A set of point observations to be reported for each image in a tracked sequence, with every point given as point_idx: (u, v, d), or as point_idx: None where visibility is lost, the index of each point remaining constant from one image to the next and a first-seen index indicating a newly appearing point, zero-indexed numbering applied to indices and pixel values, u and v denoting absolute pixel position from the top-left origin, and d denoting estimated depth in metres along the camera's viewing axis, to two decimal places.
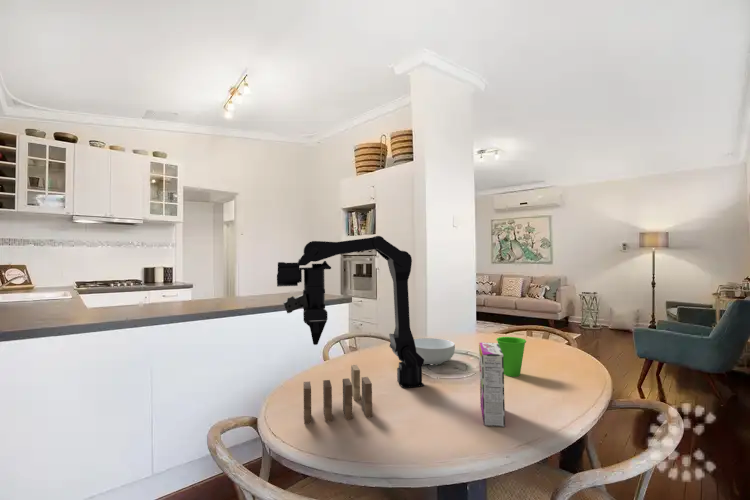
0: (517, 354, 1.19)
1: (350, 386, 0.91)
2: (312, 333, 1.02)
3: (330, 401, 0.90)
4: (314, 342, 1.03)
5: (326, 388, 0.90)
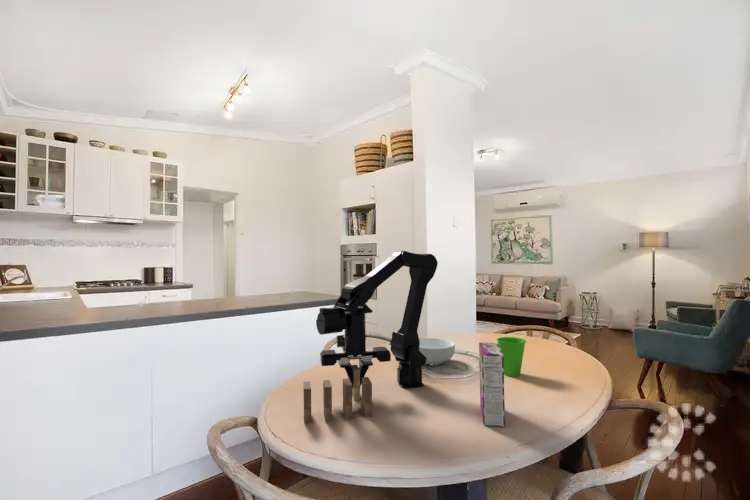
0: (517, 354, 1.19)
1: (350, 386, 0.91)
2: None
3: (330, 401, 0.90)
4: None
5: (326, 388, 0.90)
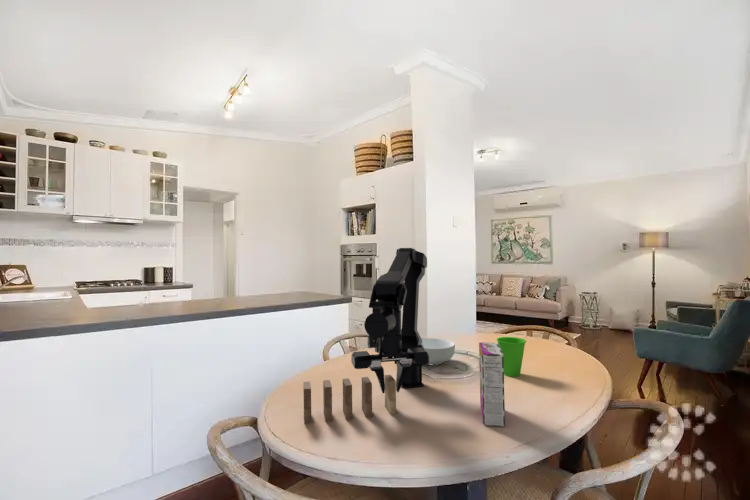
0: (517, 354, 1.19)
1: (350, 386, 0.91)
2: None
3: (330, 401, 0.90)
4: (381, 389, 0.95)
5: (326, 388, 0.90)
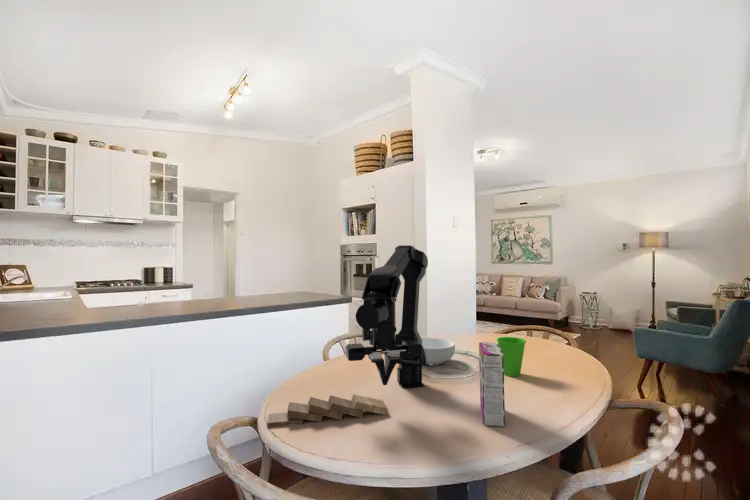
0: (517, 354, 1.19)
1: (311, 406, 0.89)
2: (378, 370, 0.96)
3: (302, 413, 0.89)
4: (382, 381, 0.95)
5: (288, 415, 0.88)
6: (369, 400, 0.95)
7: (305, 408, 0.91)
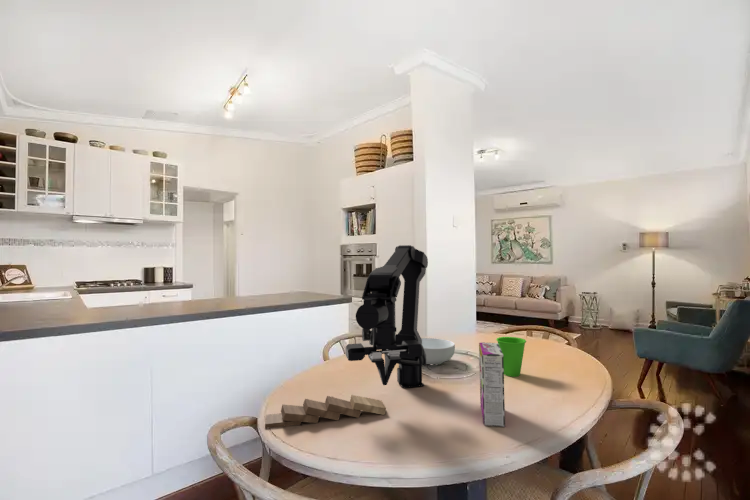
0: (517, 354, 1.19)
1: (308, 408, 0.88)
2: (378, 370, 0.96)
3: (299, 415, 0.87)
4: (382, 381, 0.95)
5: (284, 418, 0.86)
6: (368, 400, 0.95)
7: (300, 410, 0.90)
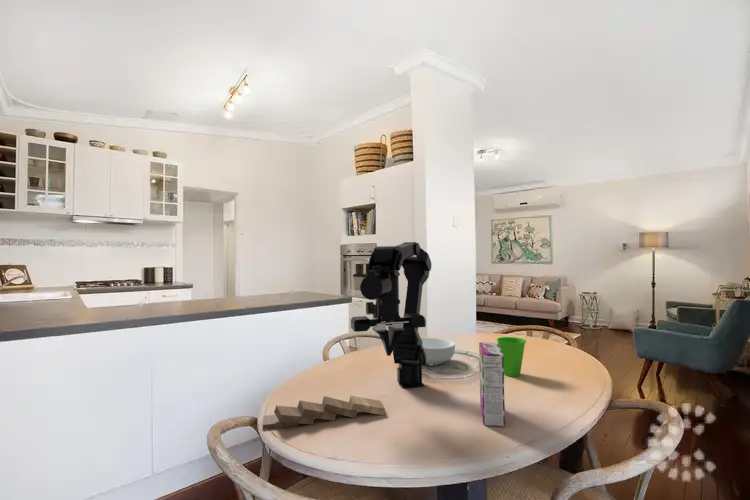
0: (517, 354, 1.19)
1: (304, 410, 0.87)
2: (382, 342, 0.99)
3: (295, 417, 0.86)
4: (386, 352, 0.99)
5: (281, 420, 0.84)
6: (366, 401, 0.95)
7: (294, 411, 0.88)
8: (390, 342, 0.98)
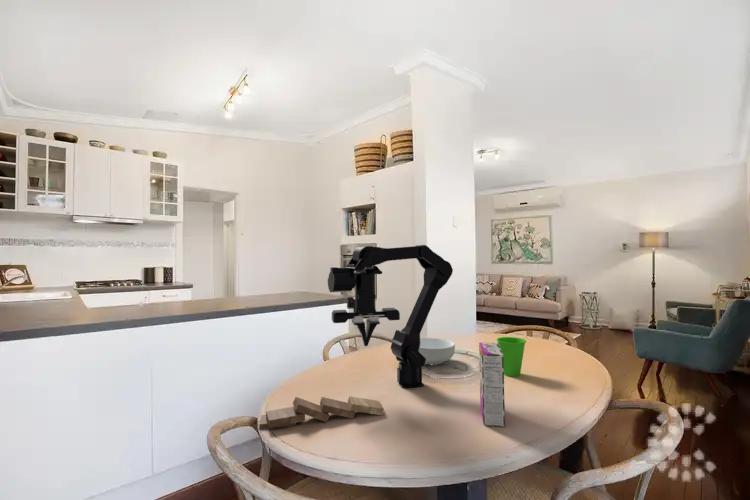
0: (517, 354, 1.19)
1: (299, 406, 0.87)
2: (360, 333, 1.09)
3: (284, 419, 0.86)
4: None
5: (270, 425, 0.85)
6: (365, 401, 0.95)
7: (284, 412, 0.88)
8: (367, 333, 1.08)
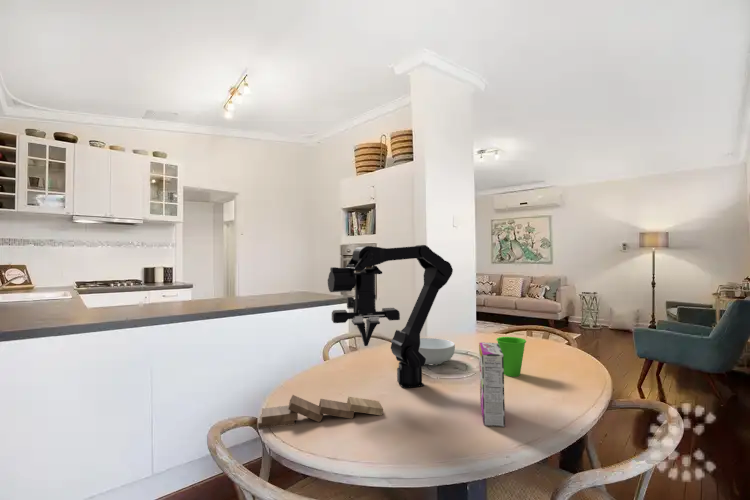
0: (517, 354, 1.19)
1: (291, 404, 0.88)
2: (360, 333, 1.09)
3: (277, 416, 0.87)
4: None
5: (262, 422, 0.86)
6: (364, 401, 0.95)
7: (278, 410, 0.90)
8: (367, 333, 1.08)
